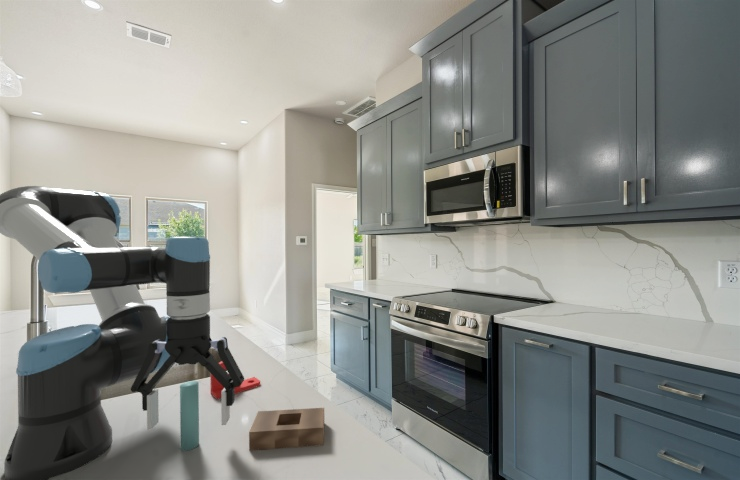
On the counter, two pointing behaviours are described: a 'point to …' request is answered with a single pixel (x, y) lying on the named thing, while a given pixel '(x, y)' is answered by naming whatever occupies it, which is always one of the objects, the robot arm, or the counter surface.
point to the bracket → (247, 384)
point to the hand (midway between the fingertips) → (189, 423)
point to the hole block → (287, 429)
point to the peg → (189, 415)
